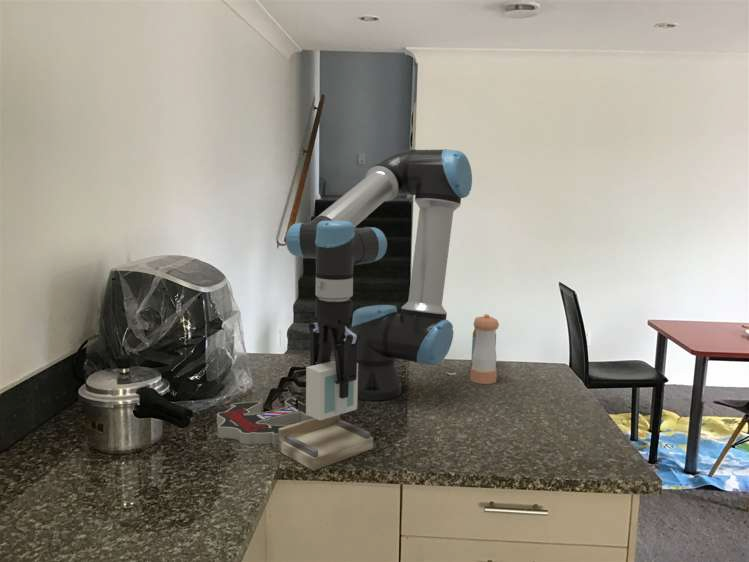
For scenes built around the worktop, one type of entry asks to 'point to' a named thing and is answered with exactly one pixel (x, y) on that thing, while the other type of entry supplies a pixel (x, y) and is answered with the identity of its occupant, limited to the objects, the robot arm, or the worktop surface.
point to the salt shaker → (484, 351)
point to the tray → (323, 441)
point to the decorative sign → (258, 421)
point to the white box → (326, 391)
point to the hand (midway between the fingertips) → (332, 408)
